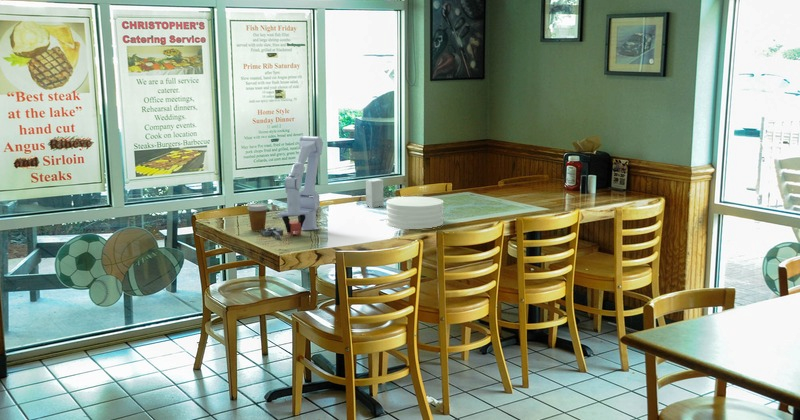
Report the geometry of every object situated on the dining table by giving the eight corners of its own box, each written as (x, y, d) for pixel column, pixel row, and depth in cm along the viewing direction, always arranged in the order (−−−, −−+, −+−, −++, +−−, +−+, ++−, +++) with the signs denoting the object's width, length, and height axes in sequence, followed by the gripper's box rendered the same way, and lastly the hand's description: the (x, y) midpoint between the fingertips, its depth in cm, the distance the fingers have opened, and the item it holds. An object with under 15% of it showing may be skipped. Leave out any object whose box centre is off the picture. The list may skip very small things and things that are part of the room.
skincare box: (377, 204, 465) (377, 178, 462) (384, 206, 460) (384, 179, 457) (365, 206, 459) (365, 179, 457) (371, 208, 455) (371, 180, 452)
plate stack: (450, 220, 422) (450, 198, 420) (433, 231, 396) (433, 207, 394) (397, 217, 431) (397, 195, 429) (378, 227, 405) (378, 204, 403)
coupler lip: (261, 233, 390) (260, 227, 390) (280, 231, 394) (279, 226, 393) (268, 240, 377) (268, 233, 376) (288, 238, 380) (287, 232, 379)
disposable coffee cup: (253, 232, 392) (252, 207, 389) (244, 229, 399) (243, 204, 397) (271, 230, 397) (271, 205, 395) (262, 227, 405) (261, 202, 402)
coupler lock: (287, 233, 390) (287, 221, 389) (296, 233, 391) (296, 220, 390) (291, 236, 383) (290, 224, 382) (300, 236, 385) (300, 223, 384)
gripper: (280, 205, 378) (280, 234, 381) (311, 203, 384) (311, 232, 386) (276, 202, 385) (277, 231, 387) (306, 200, 390) (307, 229, 393)
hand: (294, 231), depth 387 cm, fingers open, 5 cm apart
